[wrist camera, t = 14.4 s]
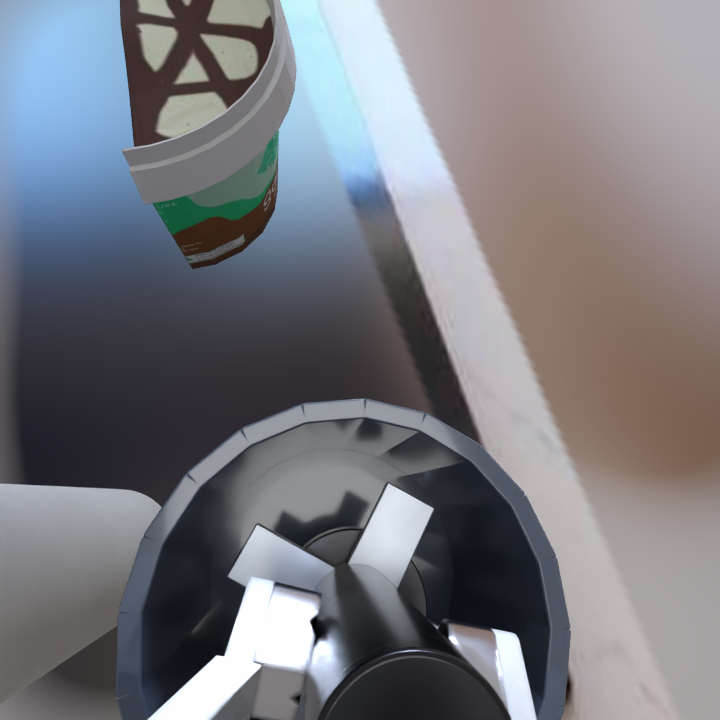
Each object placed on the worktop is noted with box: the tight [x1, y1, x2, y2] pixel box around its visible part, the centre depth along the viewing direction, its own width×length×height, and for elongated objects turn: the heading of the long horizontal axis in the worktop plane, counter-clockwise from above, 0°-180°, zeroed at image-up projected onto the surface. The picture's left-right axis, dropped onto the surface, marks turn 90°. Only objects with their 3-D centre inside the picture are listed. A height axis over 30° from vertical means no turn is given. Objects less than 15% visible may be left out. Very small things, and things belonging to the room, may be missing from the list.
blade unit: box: [227, 482, 512, 720], centre depth 10 cm, size 7×7×10 cm
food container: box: [120, 0, 296, 269], centre depth 22 cm, size 12×6×10 cm, turn 11°
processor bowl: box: [116, 398, 571, 720], centre depth 17 cm, size 12×12×10 cm
